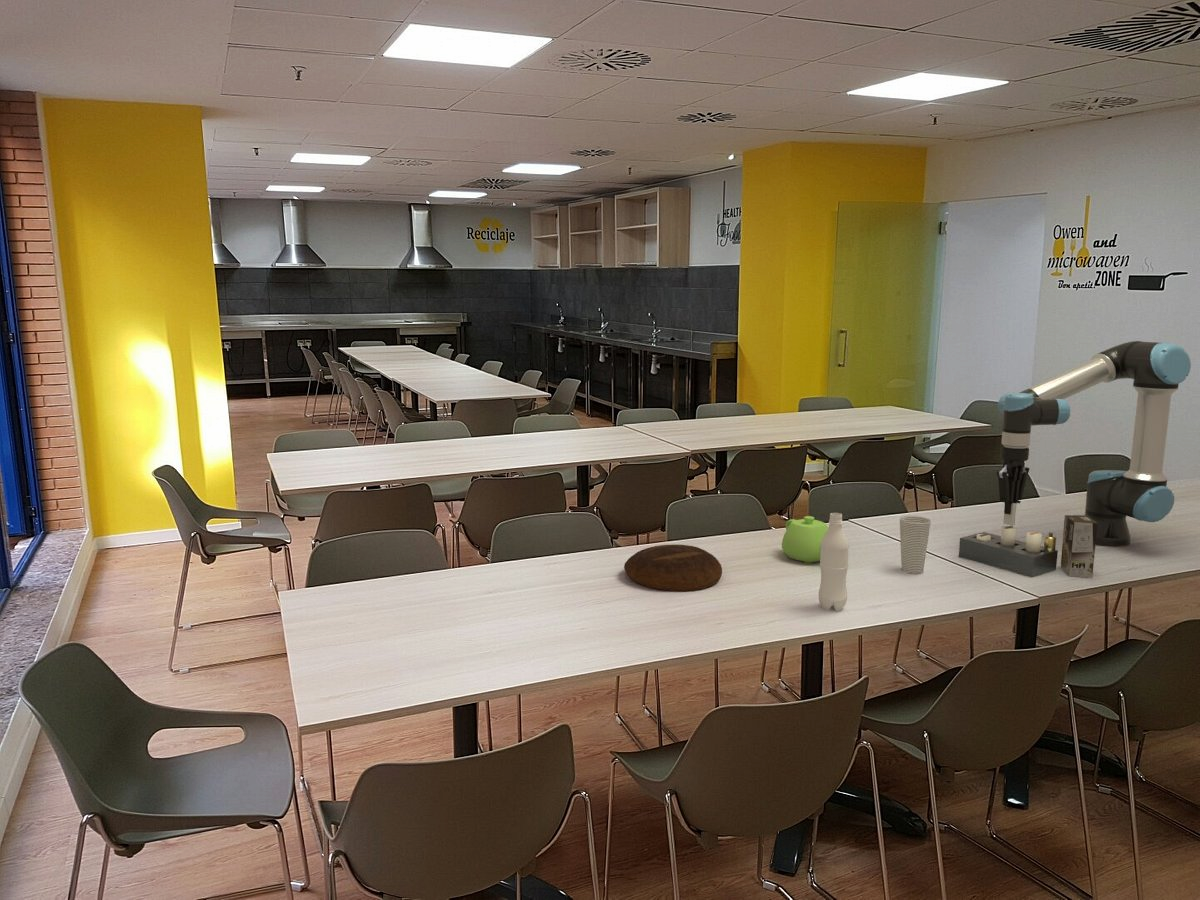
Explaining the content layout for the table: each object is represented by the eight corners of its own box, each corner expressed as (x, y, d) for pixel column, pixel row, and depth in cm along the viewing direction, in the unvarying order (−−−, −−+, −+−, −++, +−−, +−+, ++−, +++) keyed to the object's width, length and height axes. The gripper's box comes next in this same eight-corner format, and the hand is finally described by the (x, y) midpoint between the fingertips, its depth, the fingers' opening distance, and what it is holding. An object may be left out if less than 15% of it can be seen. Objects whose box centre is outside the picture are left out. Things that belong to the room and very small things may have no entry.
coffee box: (1093, 578, 254) (1098, 523, 251) (1068, 576, 256) (1073, 522, 253) (1083, 568, 263) (1088, 514, 260) (1059, 567, 264) (1064, 514, 261)
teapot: (855, 564, 269) (856, 521, 266) (819, 572, 261) (820, 529, 259) (802, 546, 287) (803, 507, 285) (767, 554, 279) (768, 513, 277)
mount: (982, 550, 281) (983, 531, 280) (1056, 570, 261) (1057, 550, 260) (958, 556, 275) (959, 537, 274) (1032, 577, 255) (1033, 557, 254)
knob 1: (980, 553, 277) (982, 532, 276) (992, 556, 274) (993, 535, 273) (972, 555, 275) (974, 534, 274) (984, 558, 272) (985, 537, 271)
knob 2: (1005, 546, 270) (1006, 524, 269) (1017, 549, 267) (1019, 527, 266) (997, 548, 268) (998, 526, 267) (1009, 551, 265) (1011, 529, 263)
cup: (927, 567, 264) (930, 516, 262) (928, 576, 257) (931, 524, 254) (897, 565, 267) (899, 514, 264) (896, 573, 259) (899, 522, 256)
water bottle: (814, 603, 236) (817, 511, 232) (840, 602, 237) (844, 510, 232) (823, 612, 229) (827, 518, 225) (850, 611, 230) (854, 517, 225)
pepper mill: (1047, 548, 263) (1048, 530, 262) (1057, 550, 260) (1058, 533, 259) (1041, 549, 261) (1043, 532, 260) (1051, 552, 259) (1052, 534, 258)
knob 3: (1030, 552, 263) (1031, 530, 262) (1043, 555, 260) (1044, 533, 259) (1022, 554, 261) (1023, 532, 260) (1034, 558, 258) (1036, 535, 257)
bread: (608, 570, 266) (608, 541, 265) (688, 557, 277) (688, 530, 276) (653, 599, 241) (654, 568, 239) (739, 585, 252) (740, 555, 250)
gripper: (1016, 442, 268) (1010, 518, 273) (990, 446, 261) (984, 524, 266) (1040, 445, 262) (1033, 523, 266) (1013, 450, 255) (1007, 530, 259)
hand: (1008, 524), depth 266 cm, fingers closed
